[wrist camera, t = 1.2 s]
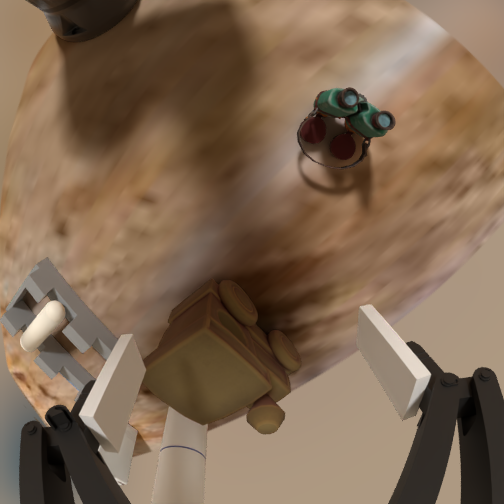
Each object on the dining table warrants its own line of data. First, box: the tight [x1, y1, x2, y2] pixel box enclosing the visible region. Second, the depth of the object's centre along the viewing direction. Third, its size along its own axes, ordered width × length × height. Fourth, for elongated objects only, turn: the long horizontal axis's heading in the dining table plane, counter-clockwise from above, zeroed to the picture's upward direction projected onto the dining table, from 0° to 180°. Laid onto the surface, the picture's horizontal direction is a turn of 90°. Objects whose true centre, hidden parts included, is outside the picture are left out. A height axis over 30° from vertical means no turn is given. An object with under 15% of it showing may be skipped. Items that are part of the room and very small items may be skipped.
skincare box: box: [98, 424, 138, 485], centre depth 41 cm, size 8×6×15 cm
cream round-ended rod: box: [20, 300, 66, 352], centre depth 35 cm, size 4×14×4 cm, turn 127°
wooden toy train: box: [142, 278, 301, 434], centre depth 34 cm, size 20×11×17 cm, turn 39°
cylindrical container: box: [151, 406, 208, 504], centre depth 35 cm, size 7×7×25 cm
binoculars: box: [297, 87, 395, 169], centre depth 30 cm, size 9×11×10 cm
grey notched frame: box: [0, 257, 118, 401], centre depth 38 cm, size 25×15×6 cm, turn 37°
